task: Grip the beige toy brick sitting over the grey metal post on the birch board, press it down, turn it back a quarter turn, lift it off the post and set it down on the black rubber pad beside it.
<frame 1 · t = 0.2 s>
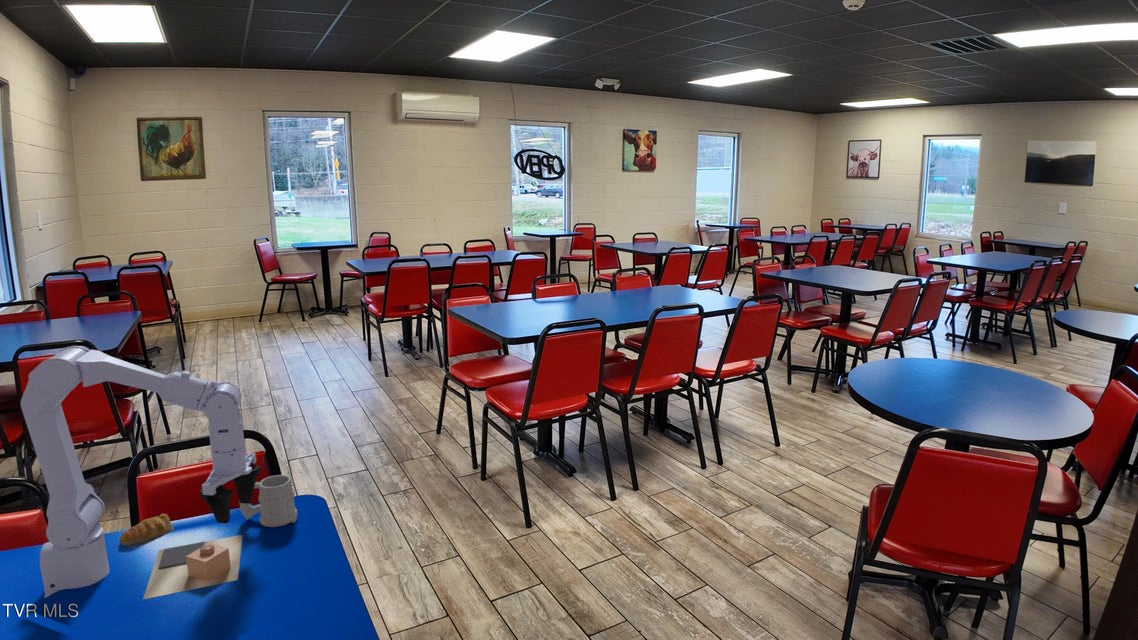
hand: (234, 512, 129), 10 cm above the table, tool pointing down, fingers open, 7 cm apart
base board: (197, 569, 127), on the table
post: (210, 576, 125), resting on base board
rest pad: (182, 560, 130), resting on base board
pastry: (150, 537, 139), on the table
mug: (269, 524, 144), on the table
beige toy brick: (209, 571, 125), point 1 cm above the table, touching base board
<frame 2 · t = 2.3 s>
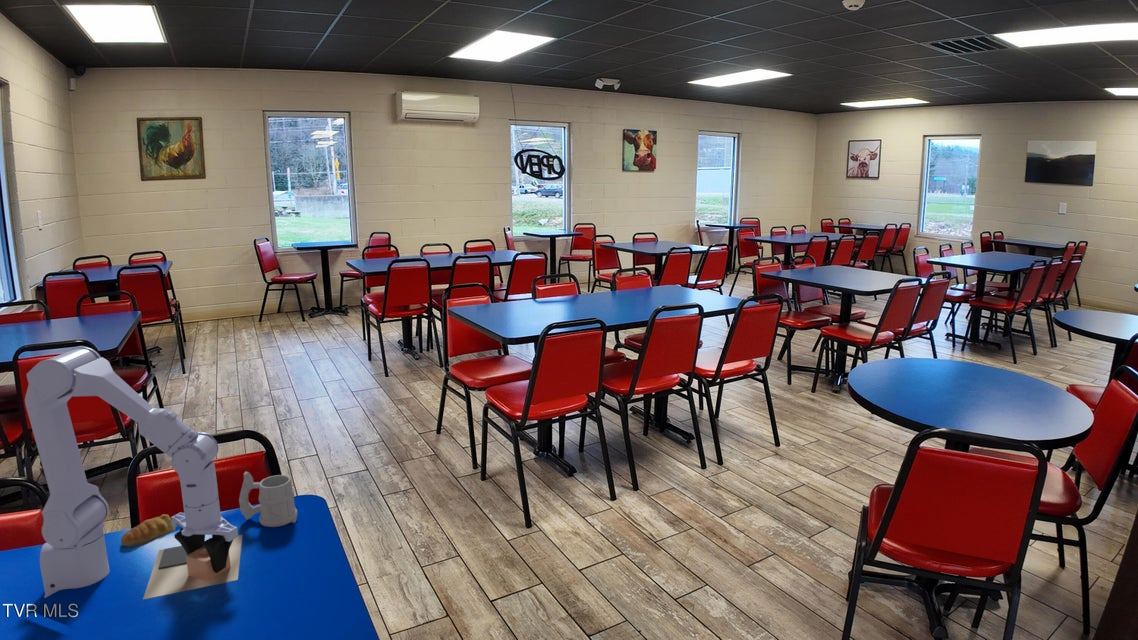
hand: (209, 566, 124), 2 cm above the table, tool pointing down, fingers closed on beige toy brick, 5 cm apart
beige toy brick: (209, 571, 125), point 1 cm above the table, touching base board, gripper
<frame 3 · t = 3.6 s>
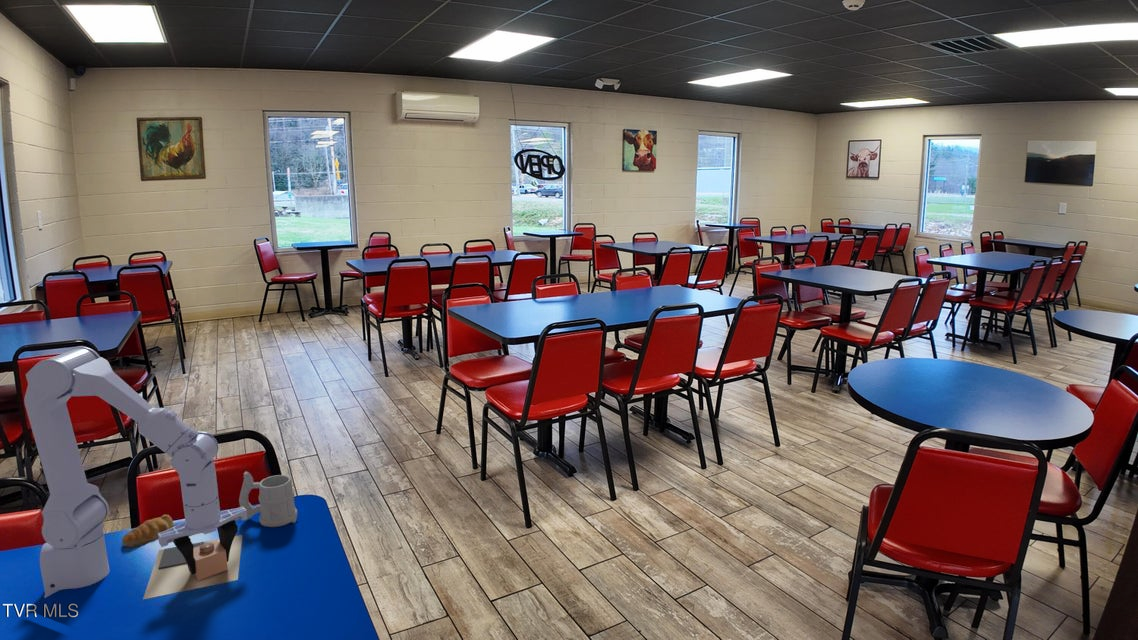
hand: (209, 565, 124), 2 cm above the table, tool pointing down, fingers closed on beige toy brick, 5 cm apart
beige toy brick: (209, 569, 125), point 1 cm above the table, touching gripper
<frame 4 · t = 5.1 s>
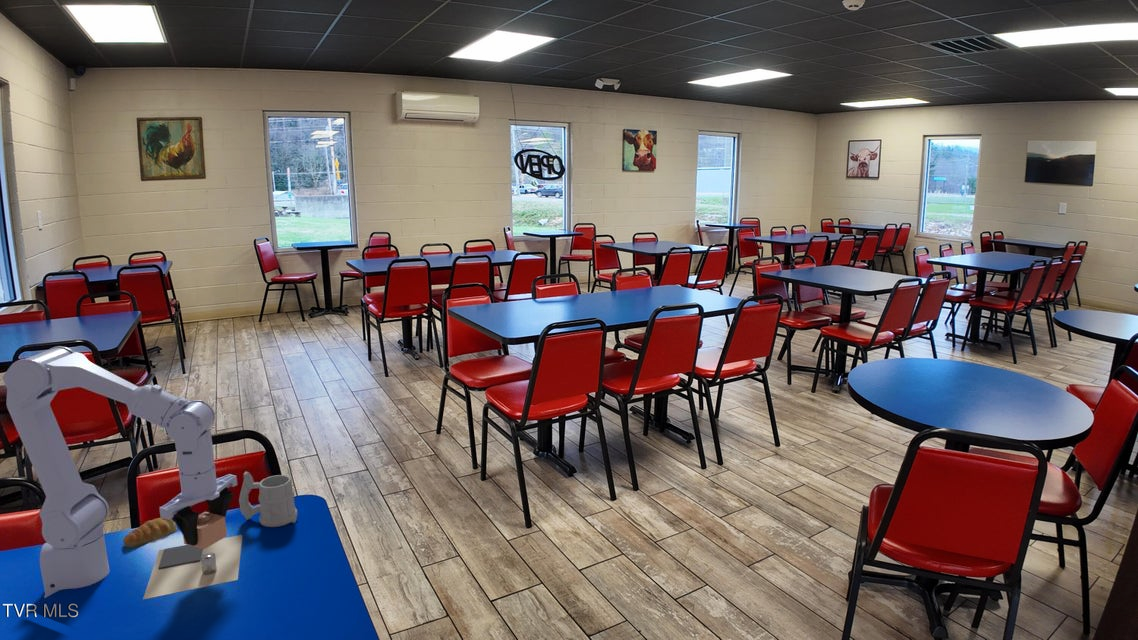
hand: (205, 536, 123), 8 cm above the table, tool pointing down, fingers closed on beige toy brick, 5 cm apart
beige toy brick: (205, 539, 123), point 8 cm above the table, touching gripper
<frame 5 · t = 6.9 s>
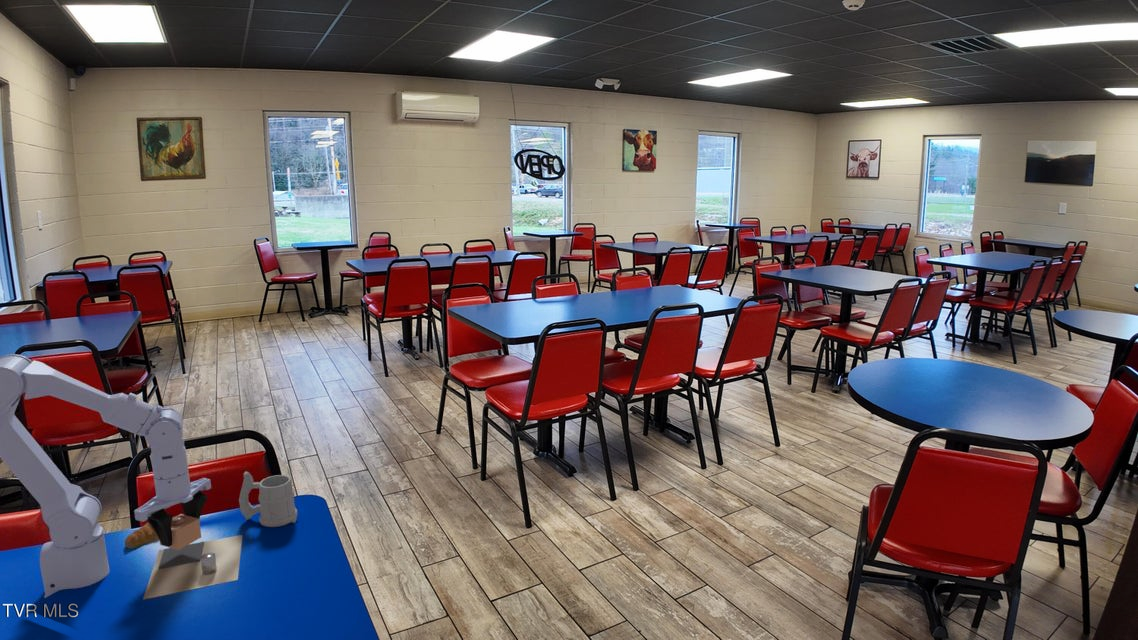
hand: (179, 537, 129), 5 cm above the table, tool pointing down, fingers closed on beige toy brick, 5 cm apart
beige toy brick: (180, 540, 129), point 4 cm above the table, touching gripper
when the fingers open (3 cm above the table, at t = 8.1 s): beige toy brick drops 1 cm, resting on rest pad.
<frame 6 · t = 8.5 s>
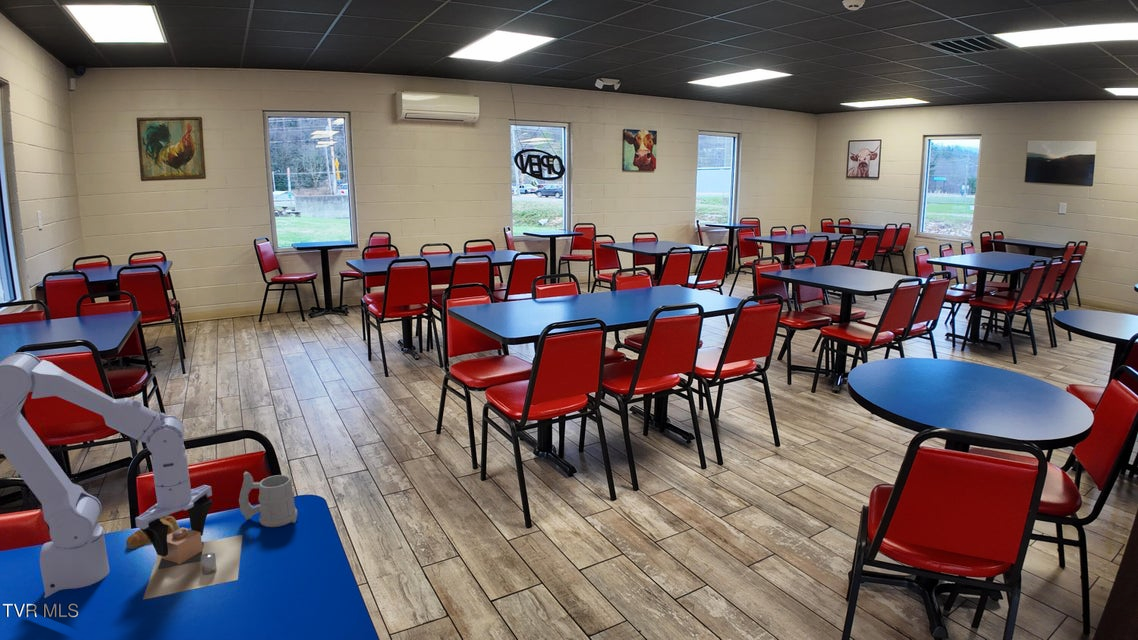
hand: (180, 544, 129), 3 cm above the table, tool pointing down, fingers open, 7 cm apart
beige toy brick: (182, 554, 130), point 1 cm above the table, touching rest pad
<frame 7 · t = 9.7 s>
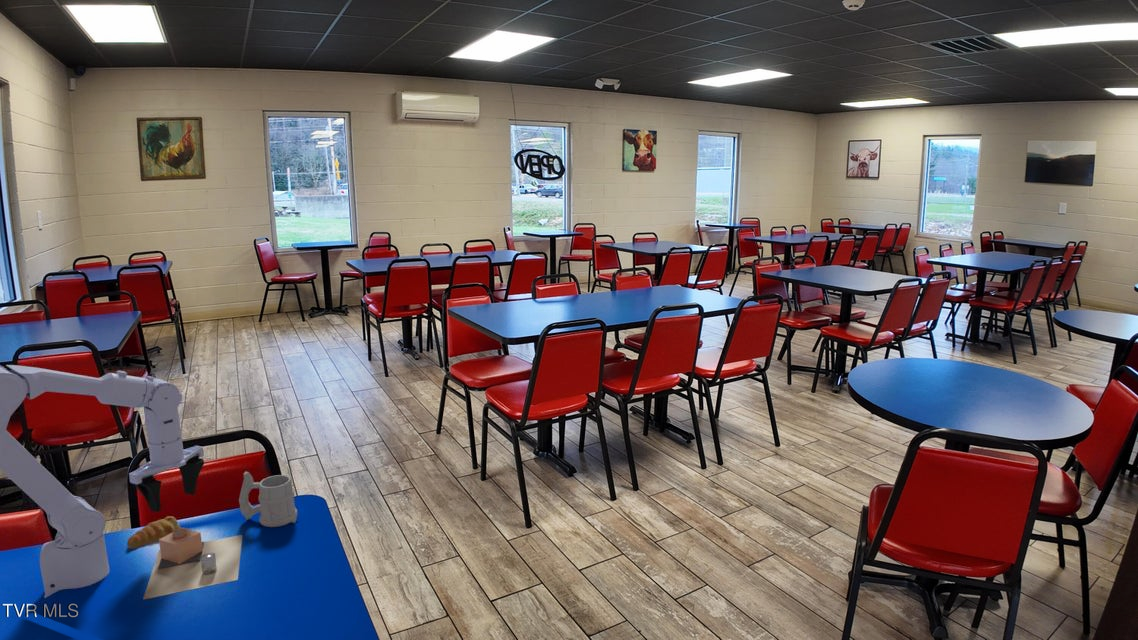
hand: (173, 501, 134), 9 cm above the table, tool pointing down, fingers open, 7 cm apart
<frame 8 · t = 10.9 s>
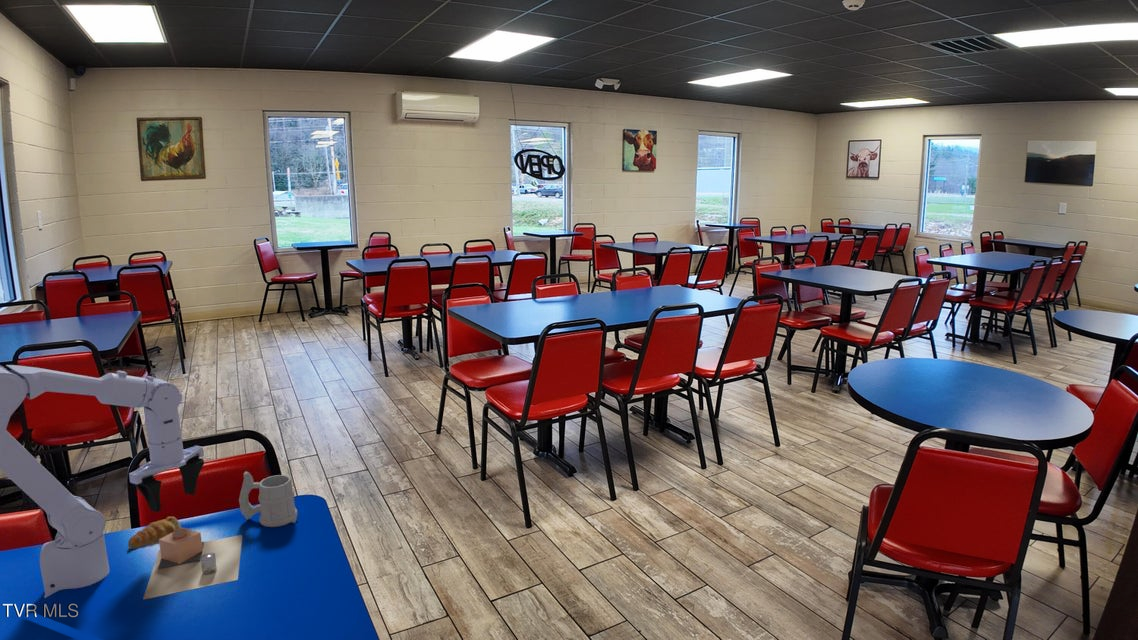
hand: (173, 501, 134), 9 cm above the table, tool pointing down, fingers open, 7 cm apart
at the end: beige toy brick 0.1 cm off-centre on the rest pad, point 1.3 cm above the rest pad's base; beige toy brick tilted 0°; the gripper is holding nothing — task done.
